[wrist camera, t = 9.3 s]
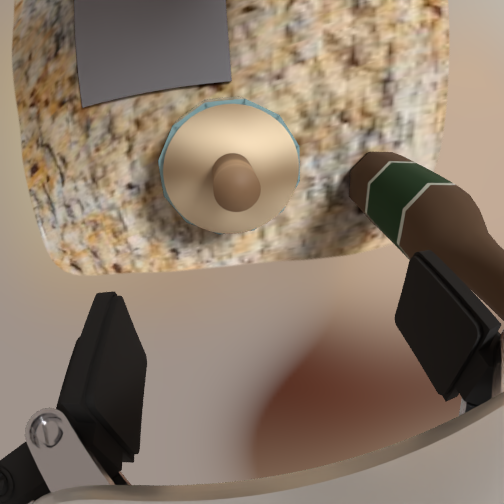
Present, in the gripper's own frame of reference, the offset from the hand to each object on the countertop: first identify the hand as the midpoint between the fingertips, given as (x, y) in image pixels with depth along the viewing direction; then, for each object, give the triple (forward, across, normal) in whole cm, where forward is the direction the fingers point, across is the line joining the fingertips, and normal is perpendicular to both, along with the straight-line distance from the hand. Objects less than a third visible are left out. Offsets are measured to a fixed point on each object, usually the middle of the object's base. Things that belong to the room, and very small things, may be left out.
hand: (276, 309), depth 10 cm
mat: (+22, +6, -14) cm, 27 cm away
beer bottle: (+22, -16, +4) cm, 28 cm away
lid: (+17, 0, 0) cm, 17 cm away
